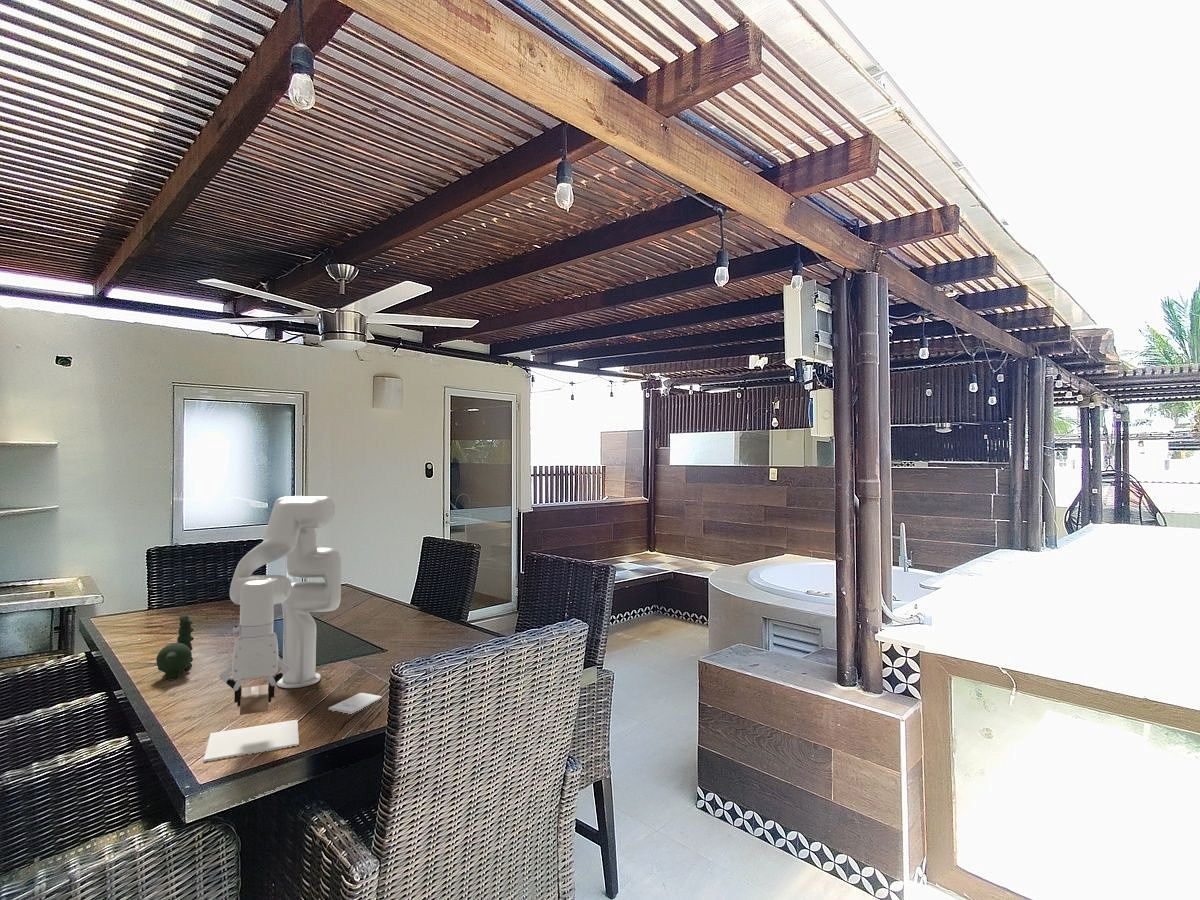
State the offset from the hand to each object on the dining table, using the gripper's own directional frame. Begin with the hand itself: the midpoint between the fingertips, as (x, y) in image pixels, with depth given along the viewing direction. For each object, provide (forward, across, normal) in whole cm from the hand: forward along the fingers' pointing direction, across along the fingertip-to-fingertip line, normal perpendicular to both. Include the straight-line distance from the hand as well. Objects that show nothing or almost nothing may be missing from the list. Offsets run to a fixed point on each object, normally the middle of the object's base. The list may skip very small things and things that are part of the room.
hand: (254, 702), depth 157 cm
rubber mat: (+10, 0, 0) cm, 10 cm away
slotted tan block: (+1, 0, 0) cm, 1 cm away
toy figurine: (+9, -25, +68) cm, 73 cm away
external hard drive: (+10, +25, +14) cm, 31 cm away
